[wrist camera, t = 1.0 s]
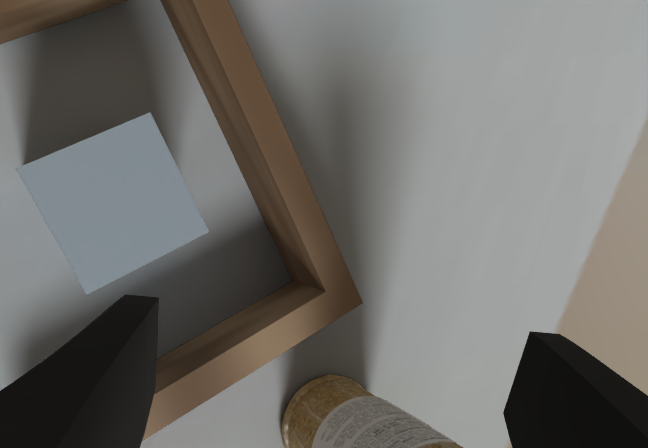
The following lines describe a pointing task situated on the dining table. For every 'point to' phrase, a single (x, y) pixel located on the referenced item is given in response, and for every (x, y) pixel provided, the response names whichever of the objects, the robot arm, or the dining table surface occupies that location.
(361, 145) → the dining table surface
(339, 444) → the sprinkles bottle
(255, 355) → the walnut stall
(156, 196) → the slate block
